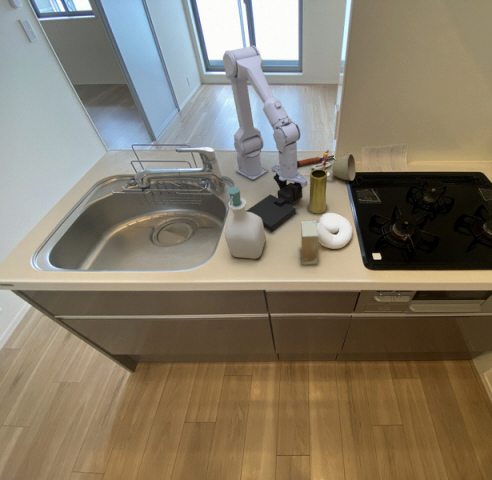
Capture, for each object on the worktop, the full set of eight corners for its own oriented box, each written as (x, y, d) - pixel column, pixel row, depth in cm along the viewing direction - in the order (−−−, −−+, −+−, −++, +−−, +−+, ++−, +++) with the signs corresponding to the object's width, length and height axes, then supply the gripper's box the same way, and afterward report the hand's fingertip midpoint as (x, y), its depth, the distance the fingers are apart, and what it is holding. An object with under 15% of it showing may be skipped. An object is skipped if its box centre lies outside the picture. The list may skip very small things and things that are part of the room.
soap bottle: (229, 259, 84) (208, 201, 66) (238, 235, 90) (220, 176, 72) (261, 261, 83) (247, 204, 65) (267, 237, 89) (257, 178, 71)
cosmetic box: (301, 249, 86) (300, 219, 77) (315, 248, 86) (316, 219, 77) (302, 265, 81) (301, 236, 73) (317, 265, 82) (318, 235, 73)
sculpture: (354, 221, 94) (357, 203, 88) (348, 255, 84) (351, 236, 78) (319, 216, 96) (320, 197, 90) (309, 247, 86) (309, 229, 80)
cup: (334, 150, 110) (352, 148, 107) (340, 171, 117) (357, 170, 114) (327, 165, 105) (346, 163, 101) (334, 186, 111) (351, 185, 108)
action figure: (323, 164, 118) (323, 143, 111) (329, 164, 118) (330, 144, 111) (318, 181, 111) (318, 160, 103) (325, 181, 110) (326, 161, 103)
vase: (328, 204, 100) (330, 170, 90) (323, 215, 96) (325, 180, 86) (311, 201, 102) (312, 166, 91) (306, 211, 98) (306, 176, 88)
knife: (353, 156, 122) (347, 154, 126) (352, 150, 121) (347, 148, 125) (298, 168, 115) (294, 166, 119) (297, 161, 114) (293, 159, 118)
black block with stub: (273, 203, 99) (272, 194, 96) (291, 191, 104) (290, 182, 101) (284, 210, 97) (283, 201, 94) (302, 196, 102) (302, 187, 99)
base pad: (246, 216, 96) (245, 211, 94) (271, 199, 103) (270, 194, 101) (271, 232, 91) (270, 226, 89) (295, 213, 97) (295, 207, 95)
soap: (326, 161, 121) (326, 159, 120) (333, 165, 118) (333, 163, 117) (309, 167, 116) (309, 165, 115) (316, 170, 113) (316, 168, 112)
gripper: (263, 159, 91) (267, 192, 101) (297, 175, 85) (298, 209, 95) (278, 150, 95) (281, 183, 105) (311, 165, 89) (311, 199, 98)
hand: (290, 195), depth 100 cm, fingers closed on black block with stub, 5 cm apart
